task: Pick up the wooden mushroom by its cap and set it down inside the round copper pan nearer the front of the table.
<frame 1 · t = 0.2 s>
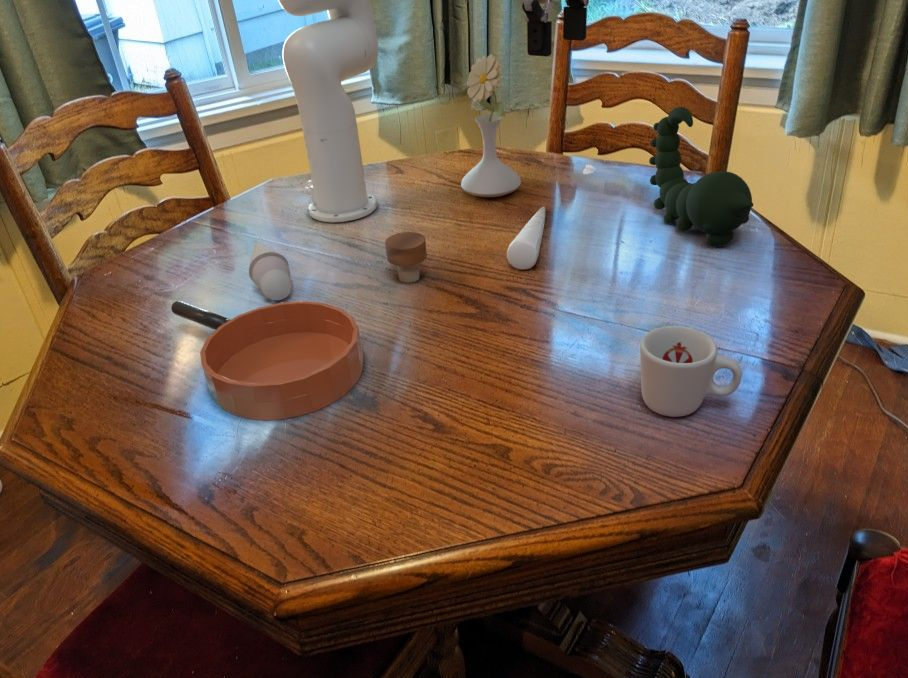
hand: (557, 47, 96), 31 cm above the table, tool pointing down, fingers open, 9 cm apart
ice cream cone: (271, 286, 113), on the table
flower in vase: (492, 194, 138), on the table
unicorn horn: (531, 241, 120), on the table
toy figurine: (694, 230, 120), on the table
pan: (288, 373, 93), on the table
mushroom: (409, 278, 112), on the table
pan handle: (202, 316, 98), point 3 cm above the table
cup: (683, 406, 83), on the table
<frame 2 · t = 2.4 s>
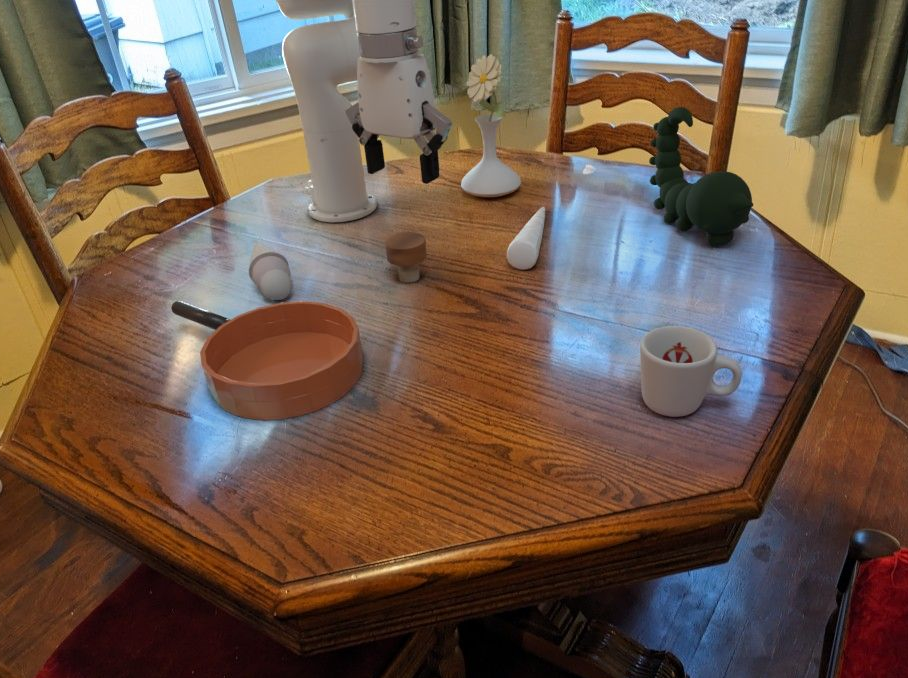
hand: (403, 175, 103), 16 cm above the table, tool pointing down, fingers open, 9 cm apart
nothing on the table moved.
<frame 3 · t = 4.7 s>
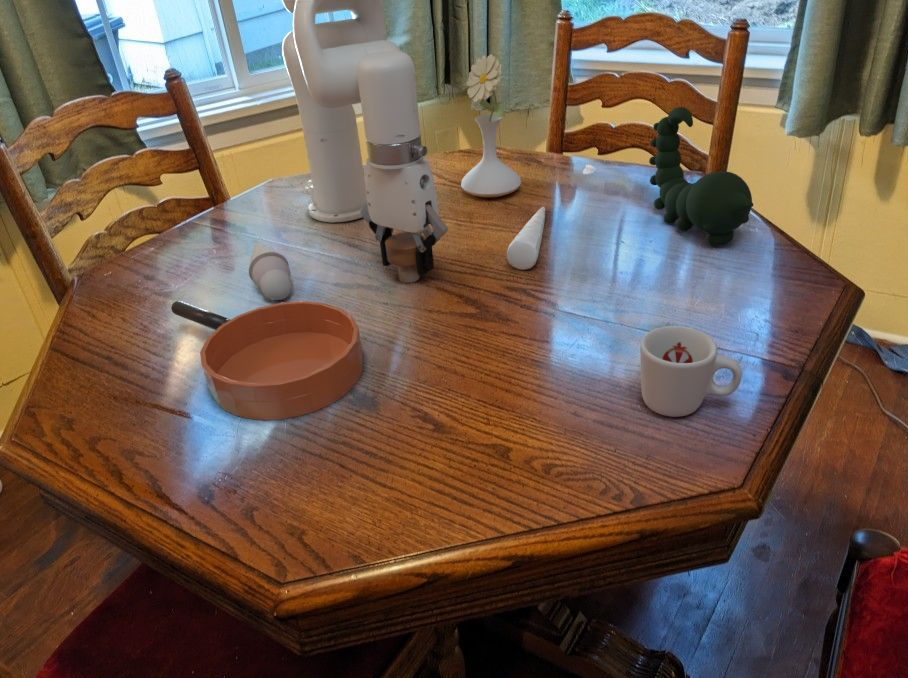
hand: (408, 266, 111), 2 cm above the table, tool pointing down, fingers closed on mushroom, 6 cm apart
mushroom: (409, 278, 112), on the table, touching gripper
everything else where it was.
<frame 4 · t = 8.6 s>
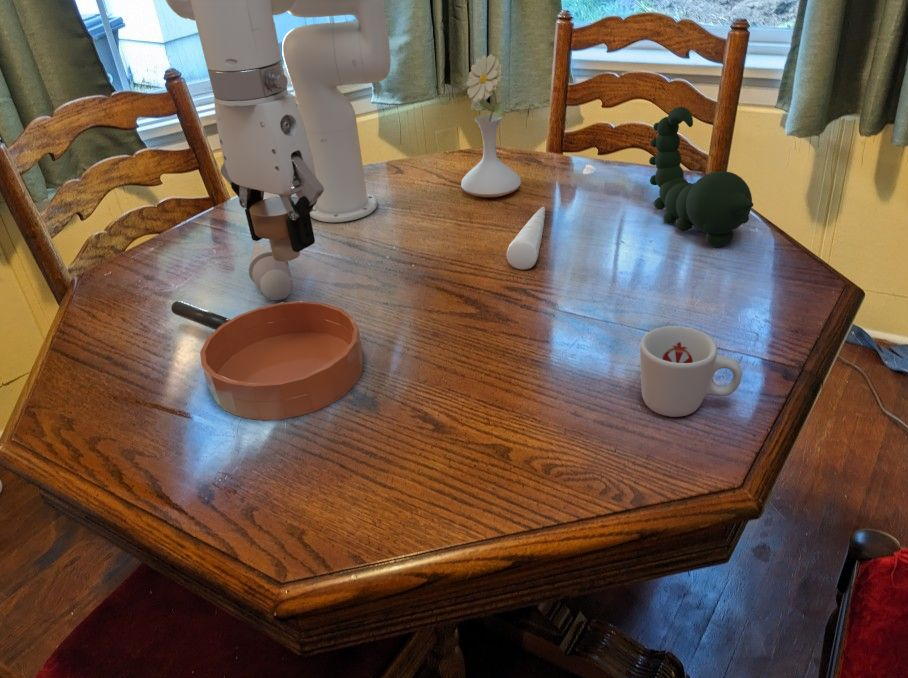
hand: (283, 240, 86), 17 cm above the table, tool pointing down, fingers closed on mushroom, 6 cm apart
mushroom: (286, 255, 87), point 15 cm above the table, touching gripper
everything else where it was.
when the fingers open (2 cm above the table, at t = 12.5 s): mushroom stays where it is, resting on pan.
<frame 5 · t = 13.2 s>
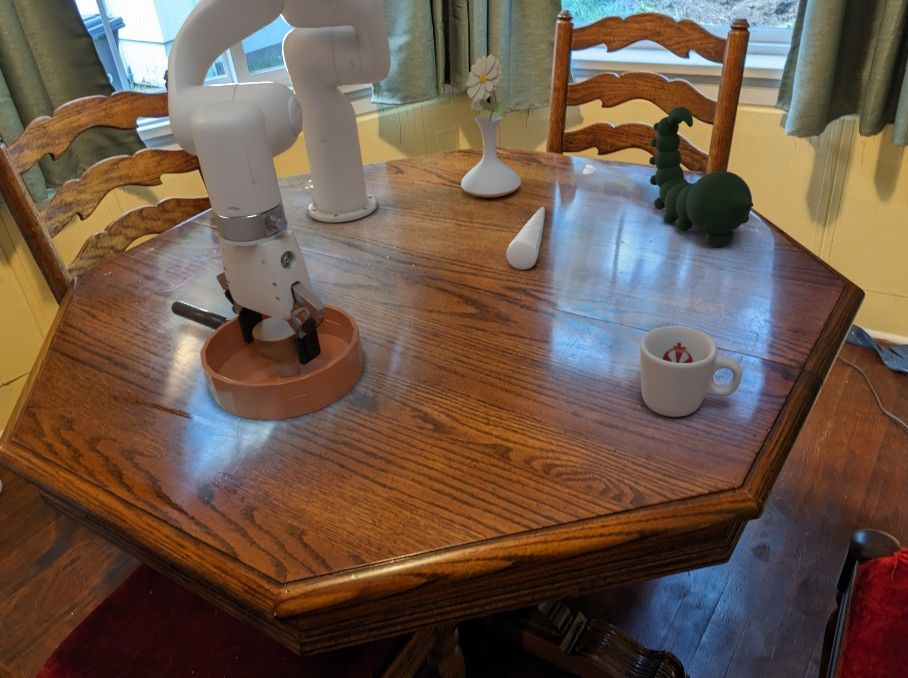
hand: (282, 348, 91), 4 cm above the table, tool pointing down, fingers open, 9 cm apart
mushroom: (287, 370, 93), resting on pan
everything else where it was.
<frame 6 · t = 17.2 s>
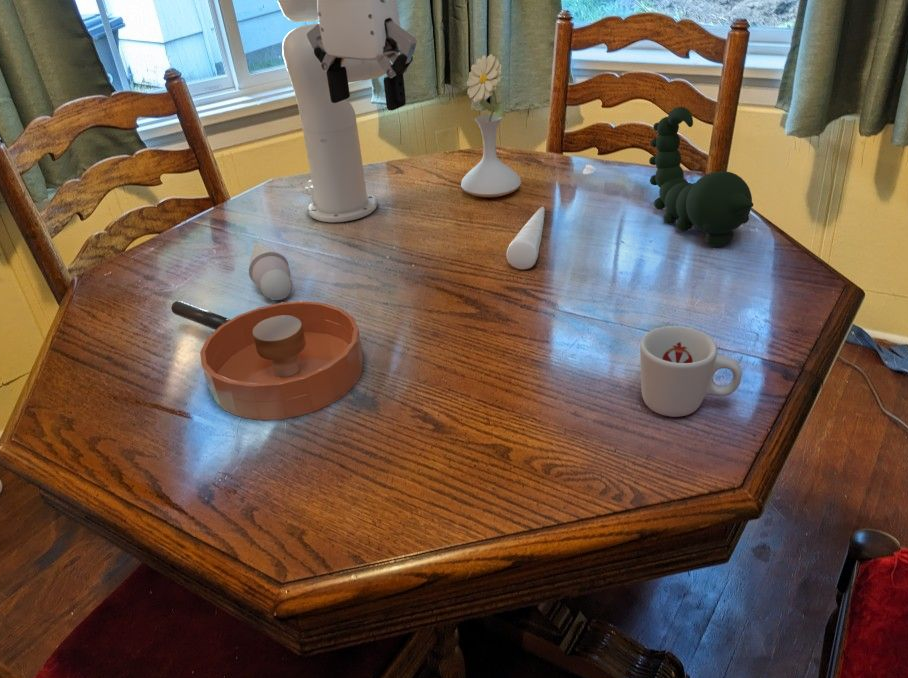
hand: (368, 103, 97), 26 cm above the table, tool pointing down, fingers open, 9 cm apart
nothing on the table moved.
at the end: mushroom inside the target area in the pan (0.1 cm from its centre), point 0.5 cm above the pan's base; the gripper is holding nothing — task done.
